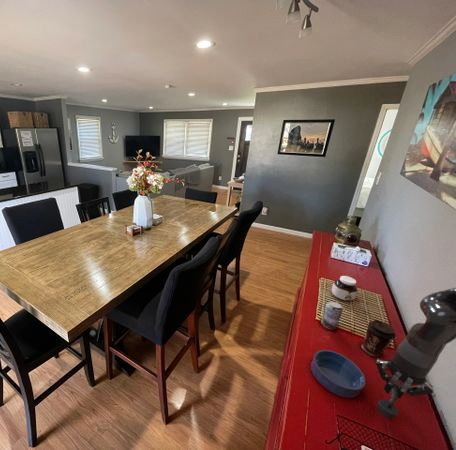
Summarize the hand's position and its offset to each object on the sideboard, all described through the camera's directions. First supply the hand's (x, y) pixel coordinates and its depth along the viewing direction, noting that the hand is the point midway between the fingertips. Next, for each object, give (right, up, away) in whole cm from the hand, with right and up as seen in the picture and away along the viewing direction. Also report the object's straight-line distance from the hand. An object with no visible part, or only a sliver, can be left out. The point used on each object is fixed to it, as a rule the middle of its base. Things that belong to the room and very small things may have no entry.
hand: (391, 393), depth 78 cm
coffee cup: (+14, +2, +22) cm, 26 cm away
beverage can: (+4, +8, +34) cm, 35 cm away
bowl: (-11, -2, +11) cm, 15 cm away
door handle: (0, -3, +2) cm, 3 cm away
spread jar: (+27, +16, +55) cm, 63 cm away
